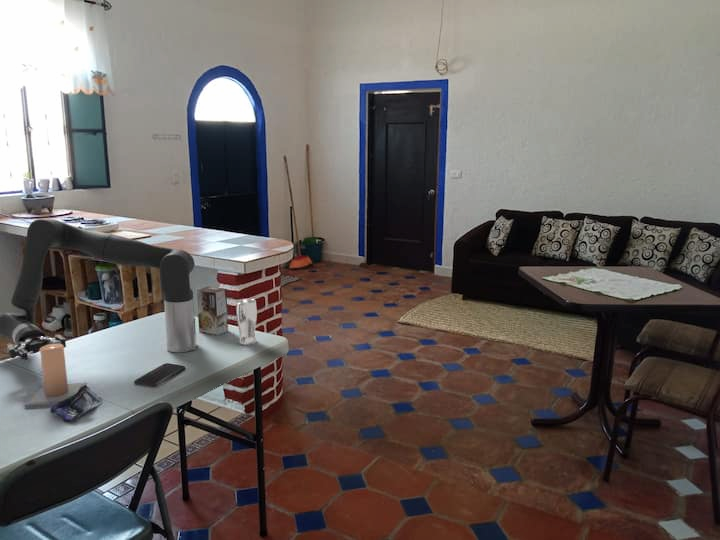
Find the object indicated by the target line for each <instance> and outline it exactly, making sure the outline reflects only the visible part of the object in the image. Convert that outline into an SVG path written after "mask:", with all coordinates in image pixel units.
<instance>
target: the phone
mask: <svg viewBox="0 0 720 540" xmlns="http://www.w3.org/2000/svg"><path fill="white" fill-rule="evenodd" d="M186 368H187V367H186V366H185V365H181V364H176V363H170V362H169V363H164V364H161V365H159V366H157V367H155V368H154V369H153V370H151V371H149V372H147V373H145V374H144V375H142V376H140V377H138V378H136V379H134V382H133V383H134V385H135V386H142V387H148V388H157V387H160V386H161V385H162V384H164V383H166V382H168V381H169V380H171V379H172V378H174V377H176V376H177V375H179V374H181V373H182V372H185V370H186Z"/></svg>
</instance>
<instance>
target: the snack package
mask: <svg viewBox="0 0 720 540" xmlns="http://www.w3.org/2000/svg"><path fill="white" fill-rule="evenodd" d="M74 393H75V392H74ZM74 393H73V394H74ZM102 402H103V398H101V397H99V396H98V394H97V393H95V392H94V391H93V390H92V389H91V388H90V387H88V385H87V386H86V385H84V386H82V387H81V388H80V389H79V390H78V392H77V393H76V394H74V395H73V396H70V397H68V398H67V399H65V400H64V401H61V402H59V403H58V404H57V405H55V406H52V407H51V408H50V413H52V414H56V415H58V416H59V418H61V419H62V420H64V422H71V423H75V422H76V421H77V420H78V419H79V418H80V417H82V415H84V414H86V413H87V412H89V411H90V410H91V409H94V408H95V405H96V406H99V405H100V404H101V403H102ZM92 406H93V407H92Z"/></svg>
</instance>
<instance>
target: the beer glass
mask: <svg viewBox="0 0 720 540" xmlns="http://www.w3.org/2000/svg"><path fill="white" fill-rule="evenodd" d="M235 308H236V309H235V310H236V320H237V326H238V330H239V336H238V343H240V345H242V344H243V345H242V346H250V345H254V344H256V343H257V338H256V337H257V336H256V327H257V318H258V314H257V313H258V311H257V309H258V308H257V301H256V299H254V298H241V299H238V300H236V307H235Z"/></svg>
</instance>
